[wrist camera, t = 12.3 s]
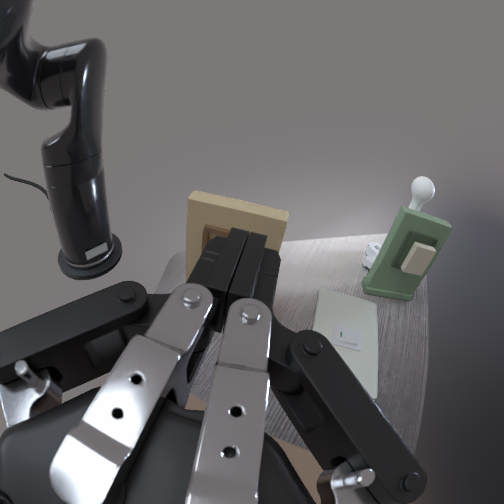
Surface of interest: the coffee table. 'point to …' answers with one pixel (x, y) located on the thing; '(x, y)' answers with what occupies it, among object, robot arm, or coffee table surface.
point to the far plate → (404, 254)
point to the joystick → (420, 194)
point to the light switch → (350, 333)
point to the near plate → (228, 222)
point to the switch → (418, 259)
